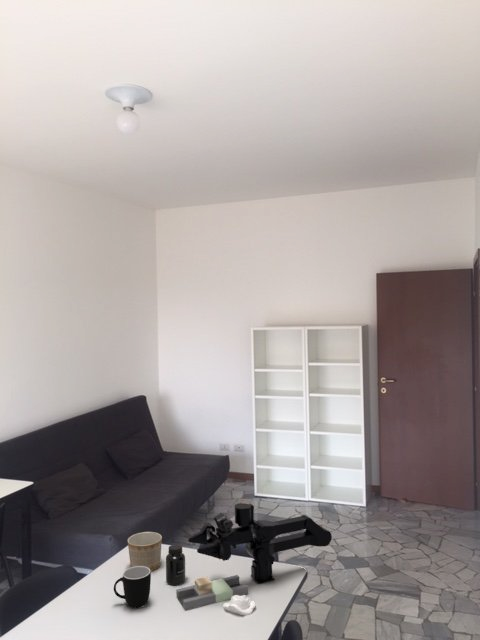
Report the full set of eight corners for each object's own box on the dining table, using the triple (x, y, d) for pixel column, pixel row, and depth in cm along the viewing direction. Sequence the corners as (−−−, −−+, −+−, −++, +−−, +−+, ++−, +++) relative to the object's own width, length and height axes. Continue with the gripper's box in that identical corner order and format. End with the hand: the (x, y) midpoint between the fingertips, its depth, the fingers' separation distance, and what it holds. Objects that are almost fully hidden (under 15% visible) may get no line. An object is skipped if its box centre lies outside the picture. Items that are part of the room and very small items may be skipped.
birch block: (207, 585, 178) (207, 576, 178) (212, 591, 174) (212, 582, 173) (195, 588, 176) (194, 579, 176) (199, 594, 172) (199, 585, 172)
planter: (159, 574, 192) (158, 545, 192) (124, 574, 192) (124, 546, 192) (165, 558, 204) (164, 531, 204) (132, 559, 205) (131, 532, 205)
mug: (152, 595, 177) (151, 565, 177) (150, 609, 168) (149, 578, 168) (116, 597, 176) (115, 567, 176) (111, 612, 167) (110, 580, 167)
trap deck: (237, 582, 184) (237, 574, 184) (248, 594, 176) (247, 586, 176) (176, 597, 176) (176, 589, 176) (184, 610, 167) (184, 602, 167)
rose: (225, 605, 162) (221, 589, 172) (225, 619, 162) (221, 602, 172) (257, 601, 164) (251, 585, 173) (257, 615, 164) (251, 599, 173)
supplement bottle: (182, 586, 182) (181, 551, 182) (163, 585, 184) (162, 550, 184) (188, 577, 189) (187, 543, 189) (170, 575, 190) (169, 542, 190)
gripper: (224, 504, 191) (183, 512, 185) (246, 522, 174) (201, 531, 168) (225, 535, 191) (184, 544, 185) (247, 556, 174) (202, 566, 168)
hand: (192, 545), depth 176 cm, fingers open, 9 cm apart
